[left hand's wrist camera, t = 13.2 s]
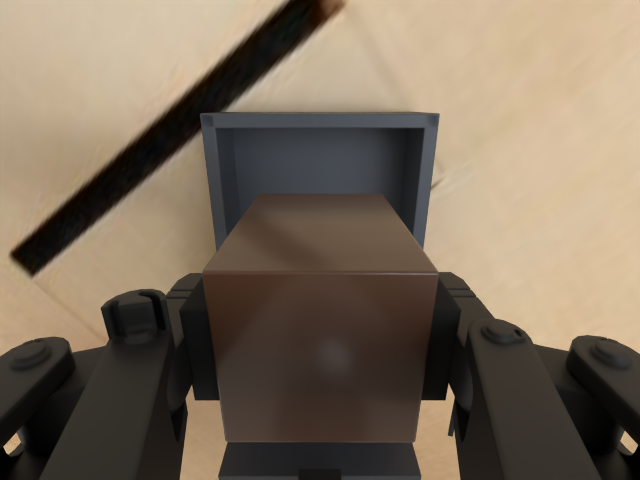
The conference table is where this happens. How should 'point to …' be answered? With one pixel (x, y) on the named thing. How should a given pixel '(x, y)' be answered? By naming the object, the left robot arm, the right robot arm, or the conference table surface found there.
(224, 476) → the dark grey open box
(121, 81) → the conference table surface
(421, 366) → the block
